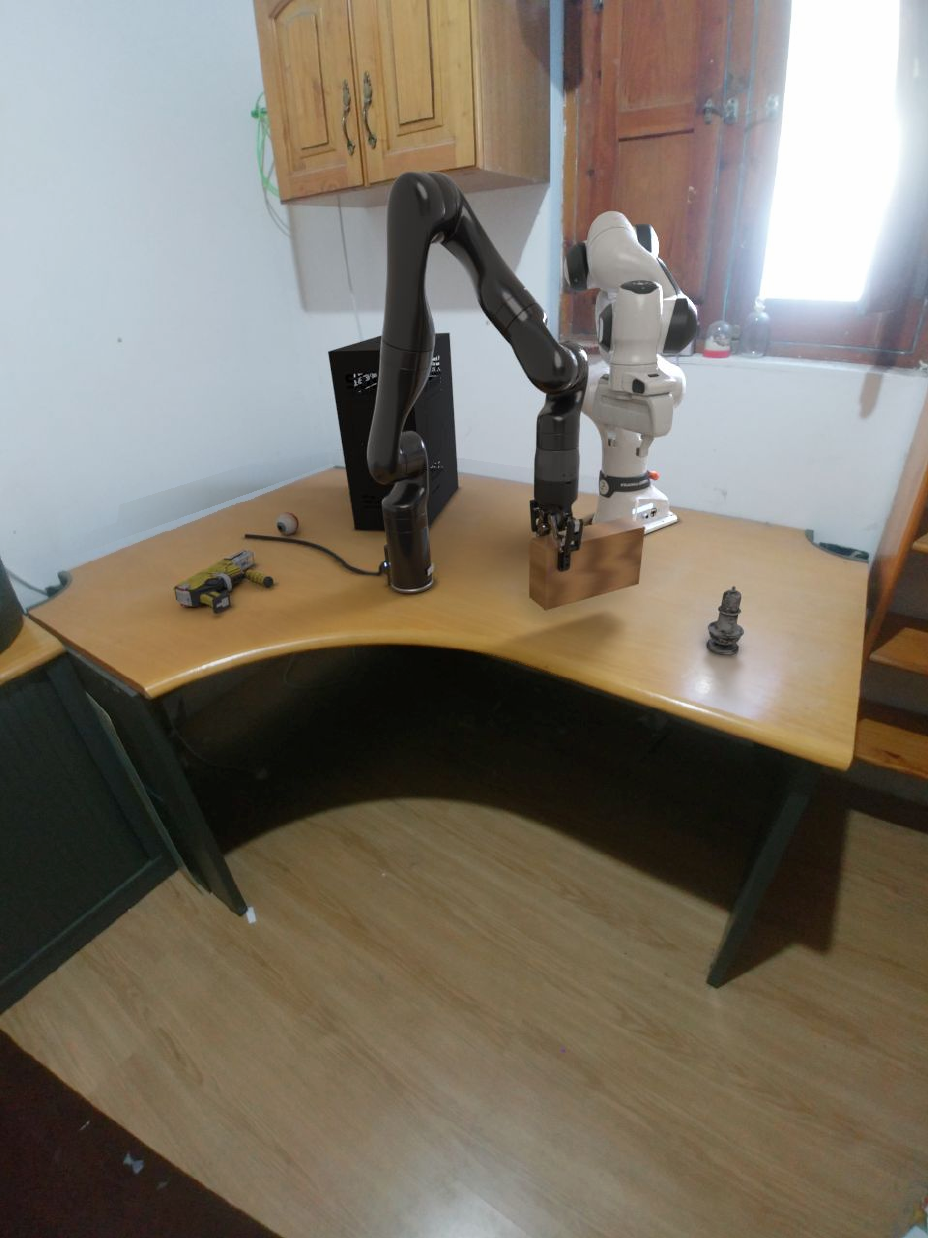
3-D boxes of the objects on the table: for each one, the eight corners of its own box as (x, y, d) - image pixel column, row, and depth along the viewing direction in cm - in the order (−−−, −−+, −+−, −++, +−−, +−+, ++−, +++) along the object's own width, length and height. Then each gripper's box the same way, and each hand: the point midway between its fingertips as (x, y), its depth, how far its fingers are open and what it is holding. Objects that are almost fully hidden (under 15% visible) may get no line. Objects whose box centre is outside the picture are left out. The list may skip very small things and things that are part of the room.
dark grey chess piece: (743, 656, 104) (756, 594, 98) (707, 654, 105) (718, 593, 99) (737, 638, 109) (749, 578, 103) (702, 636, 110) (712, 577, 104)
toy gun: (294, 557, 143) (240, 546, 147) (227, 600, 123) (168, 586, 127) (295, 575, 145) (243, 564, 149) (230, 620, 125) (172, 606, 129)
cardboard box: (425, 532, 161) (409, 348, 139) (354, 529, 166) (327, 351, 143) (458, 487, 193) (449, 332, 170) (398, 486, 197) (382, 335, 175)
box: (619, 572, 122) (625, 516, 116) (638, 584, 117) (645, 526, 111) (528, 597, 115) (529, 538, 109) (545, 610, 110) (546, 550, 104)
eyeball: (273, 537, 164) (268, 516, 161) (287, 528, 169) (282, 508, 166) (291, 539, 161) (286, 518, 158) (305, 530, 166) (301, 510, 163)
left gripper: (516, 465, 106) (516, 553, 114) (560, 487, 94) (557, 583, 103) (552, 459, 108) (550, 545, 117) (600, 479, 97) (594, 573, 105)
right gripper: (586, 374, 122) (583, 443, 129) (654, 387, 106) (646, 465, 112) (612, 370, 124) (607, 438, 131) (682, 382, 108) (673, 459, 115)
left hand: (553, 563), depth 110 cm, fingers closed on box, 6 cm apart
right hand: (626, 451), depth 122 cm, fingers open, 8 cm apart
